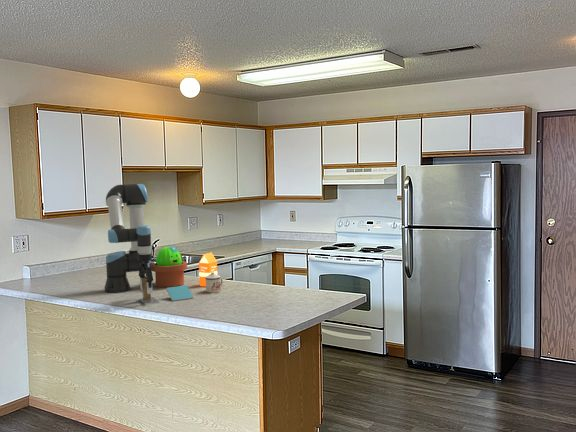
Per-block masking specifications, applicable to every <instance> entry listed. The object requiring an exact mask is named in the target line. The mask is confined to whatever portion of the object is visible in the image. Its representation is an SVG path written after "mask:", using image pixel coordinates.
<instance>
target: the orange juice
mask: <svg viewBox="0 0 576 432" xmlns="http://www.w3.org/2000/svg"><path fill="white" fill-rule="evenodd" d="M198 272H199V275H198V276H199V286H200V287H206V279H205V277H206V276H208V275H210V274H211V272H214V274H216V275H218V261H217V259H216V257H215V256H214V254H213V252H208V253H204V254H203V255H202V257H201V258H200V260H199V262H198Z"/></svg>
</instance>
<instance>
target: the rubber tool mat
mask: <svg viewBox="0 0 576 432" xmlns="http://www.w3.org/2000/svg"><path fill="white" fill-rule="evenodd" d="M134 301H135V303H138V304H139V305H140V306H141V307H147V304H146V305H144V304H143V303H142V302H140V301H139V299H138V300H137V299H136V300H134Z"/></svg>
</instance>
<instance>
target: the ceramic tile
mask: <svg viewBox="0 0 576 432" xmlns="http://www.w3.org/2000/svg"><path fill="white" fill-rule="evenodd" d="M165 289H166V292H167V294H168V296H169V298H170V299H171V302H178V301H186V300H191V299H194V296H193V294H192V292H191V290H190V289H189V287H188V285H187V284H186V285H180V286H175V287H165Z"/></svg>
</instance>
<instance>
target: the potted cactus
mask: <svg viewBox="0 0 576 432" xmlns="http://www.w3.org/2000/svg"><path fill="white" fill-rule="evenodd" d="M182 259H183V257H182V255H181V252H179V250H178V248H176V247H175V246H168V245H166V246H163V247H162V248H161V249H160V250H158V253H157V254H156V258H155V262H153V263H151V270H152V272H154V275H155V286H157V287H158V288H159V287H160V288H170V287H177V286H184V284H185V272H184V271H185V270H187V269H188V262H187V261H184V260H182Z"/></svg>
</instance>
